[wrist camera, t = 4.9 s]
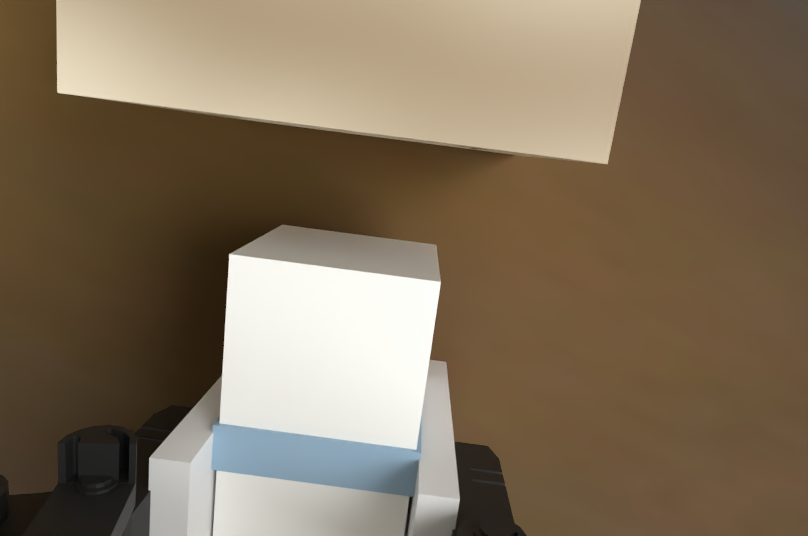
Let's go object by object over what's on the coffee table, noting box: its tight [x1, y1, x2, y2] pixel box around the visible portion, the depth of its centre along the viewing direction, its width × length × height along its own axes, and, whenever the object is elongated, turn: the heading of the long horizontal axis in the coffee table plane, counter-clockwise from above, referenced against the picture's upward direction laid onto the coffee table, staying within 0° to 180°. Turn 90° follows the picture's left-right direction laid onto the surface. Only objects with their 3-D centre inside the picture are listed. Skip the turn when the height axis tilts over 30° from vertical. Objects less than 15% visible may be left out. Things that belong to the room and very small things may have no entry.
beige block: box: [56, 0, 641, 164], centre depth 12 cm, size 4×8×8 cm, turn 83°
